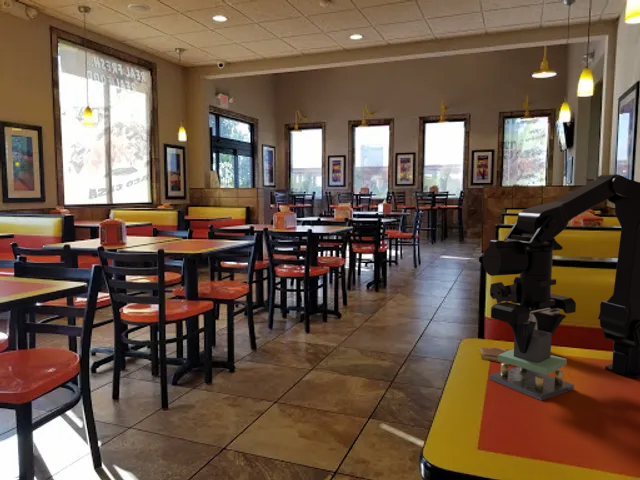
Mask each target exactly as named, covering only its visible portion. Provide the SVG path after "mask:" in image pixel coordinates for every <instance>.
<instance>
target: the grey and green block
mask: <svg viewBox="0 0 640 480" xmlns="http://www.w3.org/2000/svg"><path fill="white" fill-rule="evenodd" d="M513 335H514V334H513ZM551 335H552V333H549V332H545V331H540V330H536V329H534V331H533V334H532V337H531V340H530V343H529V346H528V349H527V352H526V353H525V354H524V353H521V352H520V350H519V347H518V344H517V341H516V338H515V335H514V337H513V341H514V342H513V348H512V349H510V350H508V351H507V352H504V353H502V354H499V355H498V361H501V362H505V363H508V364H511V365H515V366H518V367H522V368H525V369H528V370H532V371H535V372H539V373H542V374H545V375H550V374H552V373H555V371H556V370H561V368H563V367H565V366H567V362H568V361H567V360H568V359H567V358H563V357H559V356H556V355H552V354H551V353H552V350H551V349H552V337H551ZM552 336H553V335H552ZM511 365H510V366H511ZM515 366H514V367H515Z"/></svg>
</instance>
